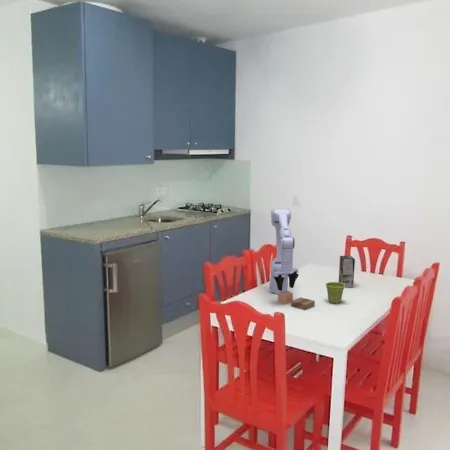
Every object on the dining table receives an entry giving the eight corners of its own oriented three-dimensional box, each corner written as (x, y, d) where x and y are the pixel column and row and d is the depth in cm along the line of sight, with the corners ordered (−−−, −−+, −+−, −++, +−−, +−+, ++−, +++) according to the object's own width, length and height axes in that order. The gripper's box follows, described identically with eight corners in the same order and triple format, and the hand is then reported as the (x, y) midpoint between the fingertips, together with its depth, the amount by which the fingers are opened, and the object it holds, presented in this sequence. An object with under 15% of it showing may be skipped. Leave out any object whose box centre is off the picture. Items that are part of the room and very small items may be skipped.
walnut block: (291, 306, 219) (291, 300, 219) (300, 303, 225) (300, 297, 225) (305, 311, 214) (305, 304, 213) (314, 307, 220) (314, 301, 219)
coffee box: (353, 288, 250) (355, 259, 247) (341, 287, 250) (343, 258, 248) (349, 283, 259) (351, 255, 256) (338, 283, 259) (339, 255, 257)
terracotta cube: (277, 302, 225) (278, 292, 225) (285, 300, 228) (285, 290, 228) (285, 304, 221) (285, 294, 221) (292, 302, 224) (292, 293, 224)
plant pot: (330, 305, 221) (331, 288, 220) (321, 299, 230) (322, 282, 229) (347, 303, 224) (348, 286, 222) (338, 298, 233) (339, 281, 231)
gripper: (281, 265, 214) (280, 293, 216) (303, 261, 223) (302, 288, 225) (271, 262, 220) (270, 289, 222) (292, 258, 228) (291, 285, 230)
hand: (285, 288), depth 224 cm, fingers open, 7 cm apart
